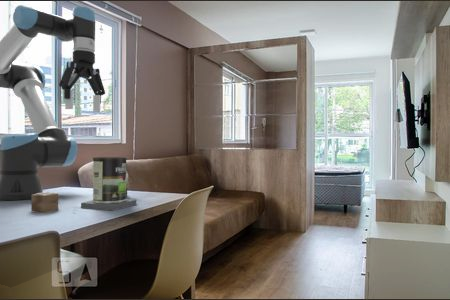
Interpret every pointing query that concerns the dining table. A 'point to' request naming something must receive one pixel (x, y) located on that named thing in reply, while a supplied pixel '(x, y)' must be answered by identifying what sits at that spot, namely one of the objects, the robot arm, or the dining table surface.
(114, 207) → the mat
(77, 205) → the dining table surface
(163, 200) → the dining table surface
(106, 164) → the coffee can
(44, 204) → the marked cube
